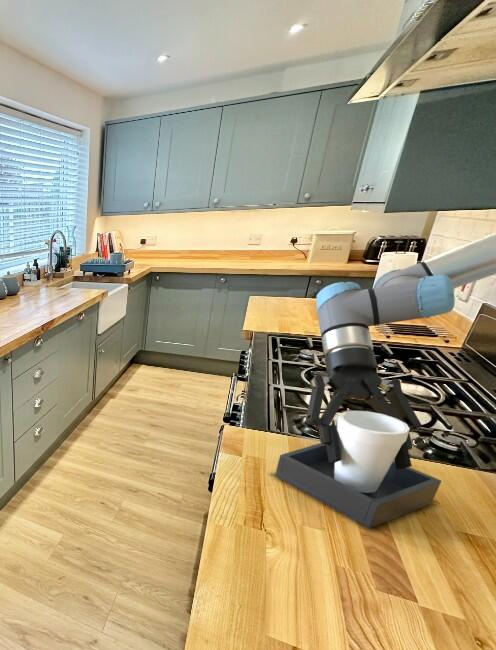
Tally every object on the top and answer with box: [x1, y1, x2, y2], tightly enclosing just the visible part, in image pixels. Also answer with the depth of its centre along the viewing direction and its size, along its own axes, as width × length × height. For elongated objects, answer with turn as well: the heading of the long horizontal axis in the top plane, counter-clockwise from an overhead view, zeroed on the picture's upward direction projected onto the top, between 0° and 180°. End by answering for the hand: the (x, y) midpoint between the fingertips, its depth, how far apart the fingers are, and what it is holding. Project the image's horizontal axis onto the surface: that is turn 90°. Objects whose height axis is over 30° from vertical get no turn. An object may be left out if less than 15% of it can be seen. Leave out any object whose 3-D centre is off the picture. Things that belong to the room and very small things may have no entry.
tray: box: [274, 442, 442, 529], centre depth 80 cm, size 17×17×5 cm
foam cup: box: [334, 410, 410, 493], centre depth 77 cm, size 10×9×13 cm
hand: (368, 464), depth 75 cm, fingers closed on foam cup, 10 cm apart
